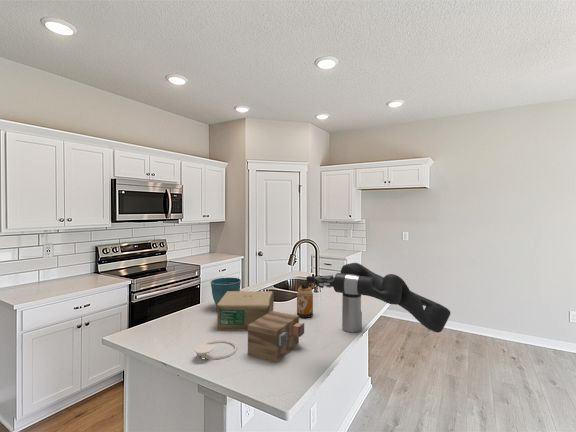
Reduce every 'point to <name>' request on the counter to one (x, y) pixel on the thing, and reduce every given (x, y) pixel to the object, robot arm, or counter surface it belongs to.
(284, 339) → the grey plug
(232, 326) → the paper package
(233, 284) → the flower pot
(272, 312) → the socket block
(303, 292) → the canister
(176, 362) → the counter surface
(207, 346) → the hand towel holder
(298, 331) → the brick plug
